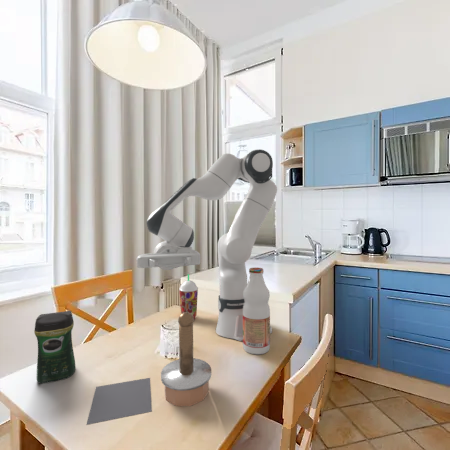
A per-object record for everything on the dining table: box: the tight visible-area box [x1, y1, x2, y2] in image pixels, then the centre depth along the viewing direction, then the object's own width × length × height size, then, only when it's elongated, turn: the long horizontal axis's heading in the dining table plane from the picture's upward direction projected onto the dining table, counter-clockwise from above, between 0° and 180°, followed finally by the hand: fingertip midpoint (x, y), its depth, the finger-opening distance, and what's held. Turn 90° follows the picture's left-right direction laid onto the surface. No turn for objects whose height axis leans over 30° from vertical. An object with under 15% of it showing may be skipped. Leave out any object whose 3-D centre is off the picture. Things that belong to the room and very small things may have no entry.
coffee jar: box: [33, 310, 76, 384], centre depth 81 cm, size 10×8×19 cm
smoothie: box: [178, 273, 199, 320], centre depth 124 cm, size 8×8×20 cm
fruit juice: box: [242, 267, 271, 355], centre depth 96 cm, size 9×9×28 cm
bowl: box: [164, 380, 210, 407], centre depth 73 cm, size 11×12×5 cm
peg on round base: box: [160, 312, 212, 391], centre depth 72 cm, size 13×13×16 cm
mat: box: [86, 377, 153, 426], centre depth 70 cm, size 14×14×1 cm
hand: (171, 263), depth 84 cm, fingers open, 8 cm apart
